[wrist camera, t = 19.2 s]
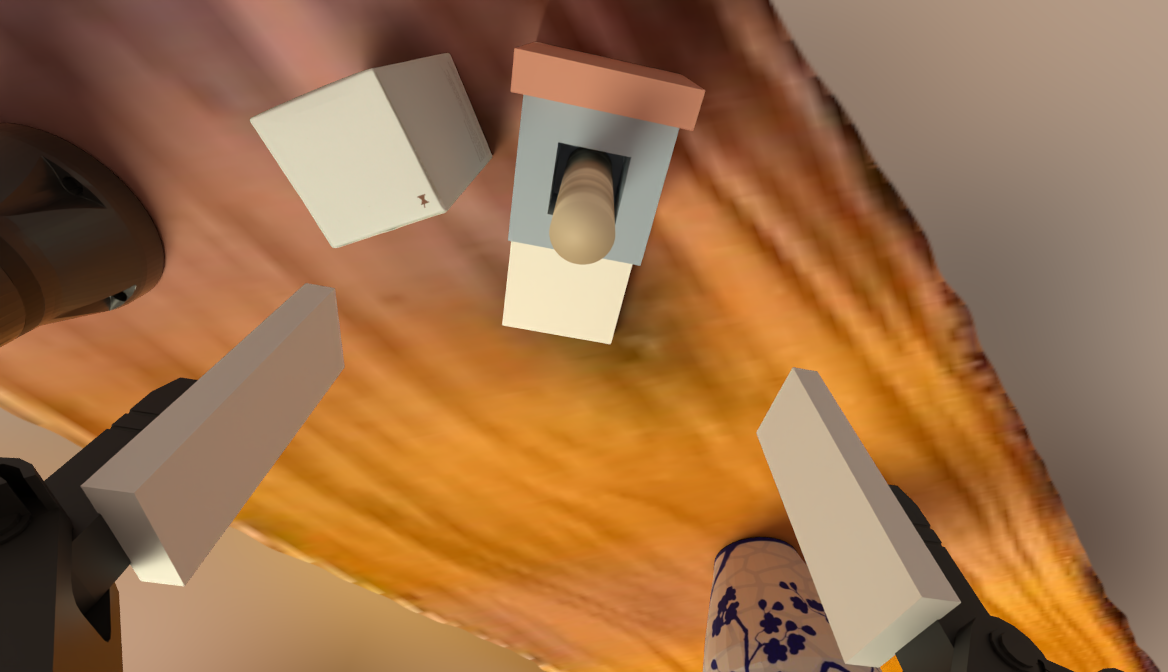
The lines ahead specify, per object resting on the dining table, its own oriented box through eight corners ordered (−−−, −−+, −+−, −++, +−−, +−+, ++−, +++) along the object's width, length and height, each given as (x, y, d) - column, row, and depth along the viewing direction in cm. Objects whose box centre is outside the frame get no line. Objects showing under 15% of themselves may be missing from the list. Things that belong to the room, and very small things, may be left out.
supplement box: (451, 49, 32) (376, 63, 21) (495, 158, 35) (450, 216, 25) (356, 85, 33) (242, 115, 22) (408, 187, 37) (331, 253, 26)
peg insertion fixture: (504, 318, 43) (484, 380, 36) (535, 41, 31) (514, 48, 24) (610, 336, 44) (612, 401, 37) (681, 74, 32) (705, 90, 24)
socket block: (521, 210, 36) (508, 240, 31) (536, 79, 31) (523, 90, 26) (635, 232, 37) (640, 265, 32) (668, 108, 32) (680, 124, 27)
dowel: (570, 140, 32) (554, 195, 22) (616, 150, 32) (622, 208, 22) (562, 187, 33) (545, 258, 23) (606, 196, 34) (607, 269, 24)
